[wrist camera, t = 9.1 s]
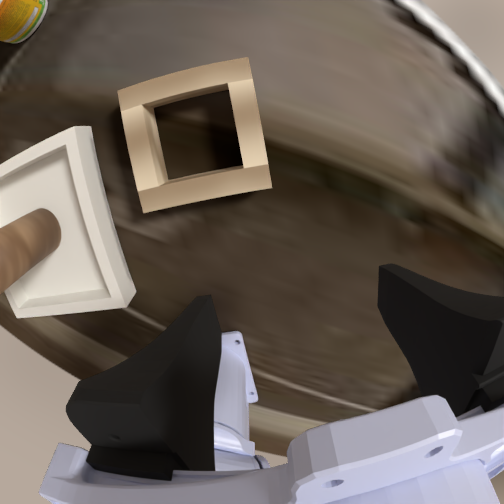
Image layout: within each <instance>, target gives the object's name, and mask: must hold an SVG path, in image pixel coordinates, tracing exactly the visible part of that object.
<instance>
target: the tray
mask: <svg viewBox="0 0 504 504" xmlns="http://www.w3.org/2000/svg"><path fill="white" fill-rule="evenodd" d="M39 208H45V209H47V210H49V211H50V212H52V213H53V214H54V215H55V217H56V218H57V220H58V222H59V225H60V228H61V242H60V245H59V247H58V248H57V249H56V250H55V251H53V252H52V253H51V254H49V255H48V256H47V257H45V258H44V259H43V260H42V261H40V262H39V263H38V264H37V265H35V266H34V267H33V268H31V269H30V270H29V271H28V272H27V273H25V274H24V275H23V276H22V277H20V278H19V279H18V280H17V281H16V282H14V283H13V284H12V285H11V286H10V287H9V288H7V289H6V290H5V291H4V292H5V294H6V296H7V299H8V301H9V303H10V305H11V307H12V309H13V311H14V313H15V315H16V317H17V318H26V317H38V316H49V315H60V314H70V313H80V312H90V311H99V310H108V309H116V308H125V307H127V306H128V304H129V303H130V301H131V299H132V298H133V296H134V295H135V293H136V289H135V286H134V284H133V281H132V278H131V275H130V273H129V270H128V267H127V264H126V261H125V258H124V255H123V252H122V249H121V246H120V242H119V239H118V236H117V233H116V229H115V226H114V223H113V219H112V216H111V212H110V208H109V205H108V201H107V197H106V193H105V189H104V185H103V181H102V177H101V173H100V169H99V164H98V160H97V155H96V150H95V145H94V140H93V135H92V130H91V126H74V127H72V128H69V129H67V130H65V131H63V132H61V133H58V134H56V135H54V136H52V137H50V138H48V139H46V140H44V141H42V142H40V143H38V144H36V145H34V146H32V147H31V148H29V149H27V150H25V151H23V152H21V153H20V154H18V155H16V156H14V157H12V158H11V159H9V160H7V161H6V162H4V163H2V164H1V165H0V228H2V227H3V226H5V225H7V224H9V223H11V222H13V221H15V220H16V219H18V218H20V217H22V216H24V215H26V214H28V213H30V212H32V211H34V210H36V209H39Z"/></svg>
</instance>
